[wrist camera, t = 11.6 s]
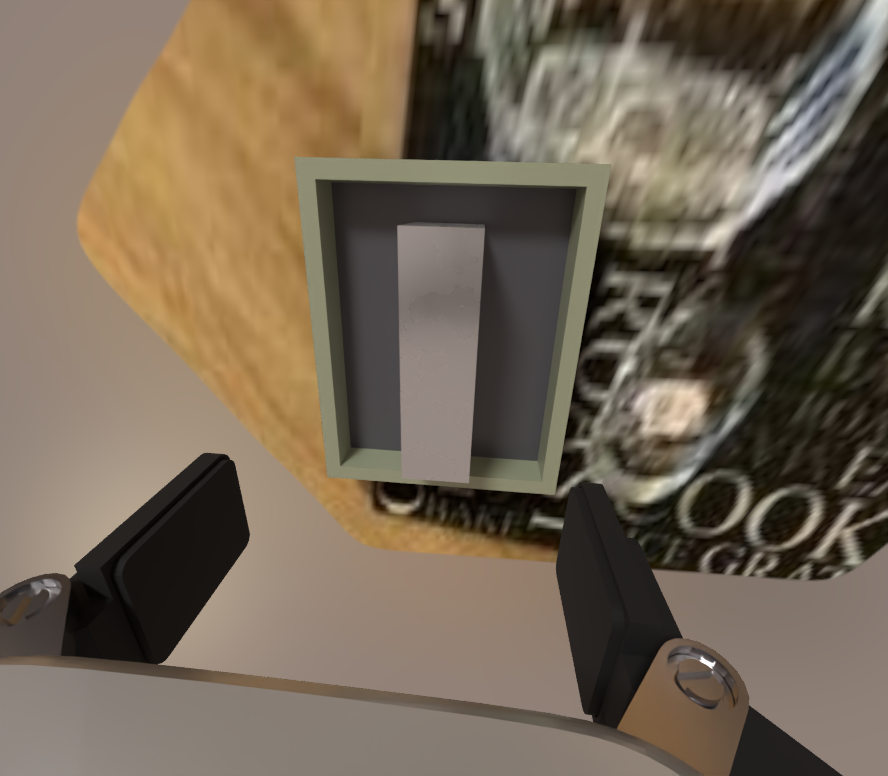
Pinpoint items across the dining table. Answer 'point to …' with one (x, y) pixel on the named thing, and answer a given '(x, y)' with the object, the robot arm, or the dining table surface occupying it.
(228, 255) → the dining table surface
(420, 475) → the bar
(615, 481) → the dining table surface
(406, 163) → the case
